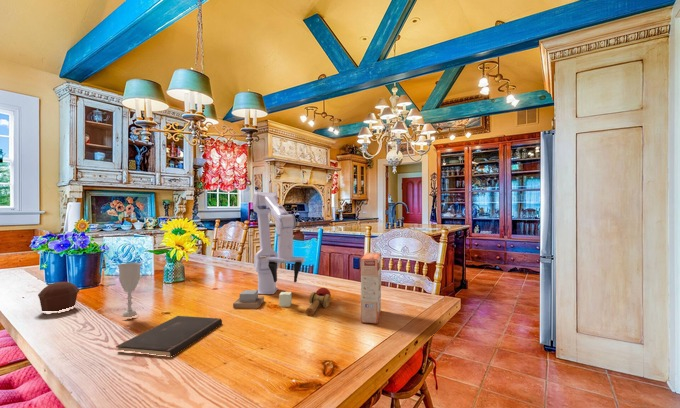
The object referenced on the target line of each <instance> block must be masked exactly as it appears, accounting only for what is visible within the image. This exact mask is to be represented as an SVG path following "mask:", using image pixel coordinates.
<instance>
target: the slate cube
mask: <svg viewBox="0 0 680 408" xmlns="http://www.w3.org/2000/svg"><path fill="white" fill-rule="evenodd" d="M258 296H259V294H258V289H244V290H243V291H241V292H240V293H239V298H240V302H255V301H256V299H257V298H258Z"/></svg>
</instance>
